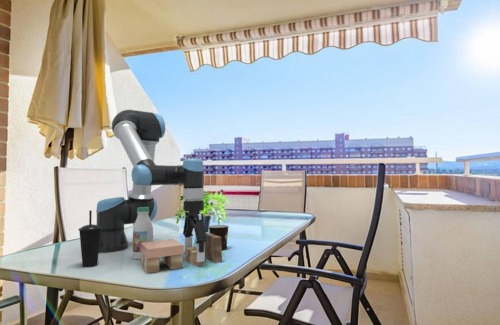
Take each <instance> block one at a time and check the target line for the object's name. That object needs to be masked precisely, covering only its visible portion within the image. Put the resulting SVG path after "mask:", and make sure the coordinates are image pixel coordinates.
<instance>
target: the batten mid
mask: <svg viewBox="0 0 500 325" xmlns="http://www.w3.org/2000/svg"><path fill="white" fill-rule="evenodd" d="M183 256H184V254H179V255H172V256H164V257H163V264H164V265H166V266H167V267H168V268H169V269H170V270H177V269H183V268H184V263H183V262H184V261H183V260H184V257H183Z"/></svg>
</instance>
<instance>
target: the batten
mask: <svg viewBox="0 0 500 325" xmlns="http://www.w3.org/2000/svg"><path fill="white" fill-rule="evenodd" d="M184 260H185V261H186V262H187V263H189V264H190V265H191V266H193V267H197V266H204V265H205V264H206V263H205V261H202V262H197V253H196V245H195V246H194V245H192V247H185V246H184Z"/></svg>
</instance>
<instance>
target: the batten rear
mask: <svg viewBox="0 0 500 325" xmlns="http://www.w3.org/2000/svg"><path fill="white" fill-rule="evenodd" d="M140 266H141V269H143V270H144V272H145V273H146V274H152V273H158V272H160V257H157V258H149V259H147V257H146V256H145V255H144V254H143V253H142V252H141V259H140Z"/></svg>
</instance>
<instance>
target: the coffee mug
mask: <svg viewBox="0 0 500 325" xmlns="http://www.w3.org/2000/svg"><path fill="white" fill-rule="evenodd" d="M208 229H209V230H208V231H209V232H208V233H211V234H214V235H217V236H220V237H221V241H222V251H225V250H227V248H228V246H227V245H228V234H229V225H228V224H214V225H209V226H208Z"/></svg>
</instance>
